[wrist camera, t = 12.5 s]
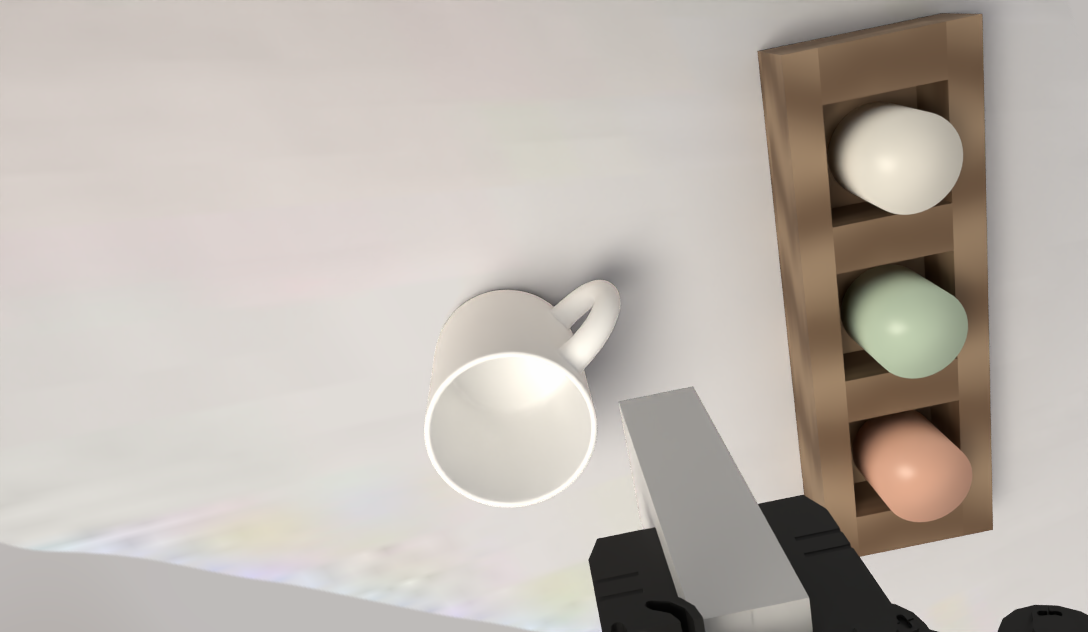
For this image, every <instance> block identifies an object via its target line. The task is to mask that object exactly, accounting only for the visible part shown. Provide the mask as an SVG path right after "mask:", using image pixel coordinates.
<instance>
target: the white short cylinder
mask: <svg viewBox="0 0 1088 632" xmlns="http://www.w3.org/2000/svg"><path fill="white" fill-rule="evenodd" d="M828 162H829V167H830V171H831V173H832V175H833V177H834V179H835V180H836V182H837V183H838V184H839V185H840V186H841V187H842V188H843V189H845V190H846V191H848V192H850V193H852V194H854V195H856V196H858V197H860V198H862V199H864V200H866V201H868V202H869V203H871V204H873V205H875V206H877V207H879V208H881V209H883V210H885V211H888V212H890V213H894V214H900V215H909V214H916V213H919V212H922V211H925V210H927V209H929V208H931V207H933V206H935V205H936V204H937V203H939V202H940V201H941V200H942V199H943V198H945V197H946V195H947V194H948V193H949V192H950V191H951V189H952V188H953V187H954V185H955V183H956V181H957V179H958V177H959V175H960V171H961V168H962V163H963V147H962V143H961V140H960V137H959V135H958V133H957V131H956V129H955V128H954V127H953V126H952V124H951V123H949V122H948V121H947V120H946V119H944V118H943V117H941V116H939V115H937V114H934V113H930V112H926V111H922V110H918V109H914V108H910V107H905V106H901V105H897V104H893V103H888V102H873V103H869V104H865V105H863V106H860V107H858V108H856V109H855V110H853V111H852V112H850V113H849V114H848V115H847V116H846V117H845V118H843V120H842V121H841V122H840V123H839V125H838V126H837V127H836V129H835V131H834V133H833V135H832V137H831V140H830V144H829V149H828Z"/></svg>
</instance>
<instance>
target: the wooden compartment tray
mask: <svg viewBox="0 0 1088 632" xmlns="http://www.w3.org/2000/svg"><path fill="white" fill-rule="evenodd" d="M758 60H759V70H760V79H761V89H762V98H763V108H764V117H765V127H766V136H767V146H768V155H769V165H770V174H771V184H772V193H773V203H774V212H775V222H776V231H777V241H778V250H779V260H780V269H781V279H782V288H783V298H784V307H785V317H786V326H787V336H788V345H789V355H790V364H791V374H792V383H793V393H794V402H795V412H796V421H797V431H798V440H799V450H800V459H801V469H802V478H803V488H804V495H805V496H806V497H808V498H809V499H811V500H813V501H814V502H816V503H818V504H819V505H821V506H823V507H824V508H826V509H827V510H828V511H829V513H830V514H831V516H832V517H833V519H834V520H835V522H836V523H837V525H838V526H839V528H840V531H841V532H843V533H844V535H845V536H846V538H847V539H848V541H849V542H850V544H851V547H852V548H854V550H855V551H856V552H857V554H858V555H859V557H861V556H865V555H870V554H875V553H880V552H885V551H890V550H895V549H900V548H905V547H910V546H915V545H920V544H925V543H929V542H934V541H939V540H944V539H949V538H954V537H959V536H964V535H969V534H974V533H979V532H984V531H989V530H993V512H992V463H991V414H990V365H989V315H988V266H987V217H986V168H985V119H984V70H983V21H982V14H950V13H942V14H937V15H932V16H927V17H922V18H917V19H912V20H908V21H903V22H898V23H893V24H888V25H883V26H878V27H874V28H869V29H864V30H859V31H854V32H849V33H844V34H840V35H835V36H830V37H825V38H820V39H815V40H810V41H805V42H801V43H796V44H791V45H786V46H781V47H776V48H771V49H767V50H762V51H758ZM873 102H888V103H893V104H897V105H901V106H905V107H910V108H914V109H918V110H922V111H926V112H930V113H934V114H937V115H939V116H941V117H943V118H944V119H946V120H947V121H948V122H949V123H951V124H952V126H953V127H954V128H955V129H956V131H957V133H958V135H959V137H960V140H961V143H962V147H963V163H962V168H961V171H960V175H959V177H958V179H957V181H956V183H955V185H954V187H953V188H952V189H951V191H950V192H949V193H948V194H947V195H946V197H945V198H943V199H942V200H941V201H940V202H939V203H937V204H936V205H935V206H933V207H931V208H929V209H927V210H925V211H922V212H919V213H916V214H909V215H900V214H894V213H890V212H888V211H885V210H883V209H881V208H879V207H877V206H875V205H873V204H871V203H869V202H868V201H866V200H864V199H862V198H860V197H858V196H856V195H854V194H852V193H850V192H848V191H846V190H845V189H843V188H842V187H841V186H840V185H839V184H838V183H837V182H836V180H835V179H834V177H833V175H832V173H831V171H830V167H829V162H828V149H829V144H830V140H831V137H832V135H833V133H834V131H835V129H836V127H837V126H838V125H839V123H840V122H841V121H842V120H843V118H845V117H846V116H847V115H848V114H849V113H850V112H852V111H853V110H855V109H856V108H858V107H860V106H863V105H865V104H869V103H873ZM887 264H894V265H900V266H904V267H907V268H909V269H911V270H912V271H914V272H915V273H917V274H919V275H920V276H922V277H924V278H925V279H927V280H928V281H930V282H932V283H933V284H935V285H937V286H938V287H940V288H941V289H943V290H945V291H946V292H948V293H950V294H951V295H953V296H954V297H955V298H956V299H958V301H959V302H960V303H961V304H962V306H963V308H964V310H965V312H966V315H967V319H968V332H967V337H966V340H965V343H964V345H963V348H962V349H961V351H960V353H959V354H958V355H957V357H956V358H955V359H954V360H953V361H952V362H951V363H950V364H949V365H948V366H947V367H945V368H944V369H942V370H941V371H939V372H937V373H935V374H933V375H930V376H927V377H923V378H913V379H910V378H903V377H899V376H897V375H894V374H892V373H890V372H889V371H888V370H886V369H885V368H884V367H883V366H882V365H881V364H880V363H878V362H877V361H876V360H875V359H874V358H873V357H872V356H871V355H870V354H868V353H867V352H866V351H865V350H864V349H863V348H862V347H861V346H860V345H858V344H857V343H856V342H855V341H854V340H853V339H852V338H851V337H850V336H849V335H848V334H847V332H846V331H845V329H844V326H843V323H842V320H841V305H842V301H843V298H844V296H845V293H846V291H847V290H848V288H849V287H850V285H851V284H852V283H853V282H854V281H855V279H857V278H858V277H859V276H860V275H861V274H863V273H864V272H866V271H868V270H870V269H872V268H874V267H877V266H881V265H887ZM908 410H914V411H917V412H919V413H920V414H922V415H923V416H924V417H925V418H926V419H928V420H929V421H930V422H931V423H932V424H933V425H934V426H935V427H936V428H937V429H938V430H939V431H940V432H941V433H943V434H944V435H945V436H946V437H947V438H948V439H949V440H950V441H951V442H952V443H953V444H954V445H955V446H957V447H958V448H959V449H960V450H961V451H962V452H963V453H964V454H965V455H966V457H967V458H968V460H969V462H970V464H971V467H972V483H971V487H970V490H969V492H968V494H967V496H966V497H965V499H964V500H963V501H962V503H961V504H960V505H959V506H958V507H957V508H956V509H954V510H953V511H952V512H950V513H949V514H947V515H946V516H944V517H942V518H939V519H936V520H933V521H928V522H912V521H907V520H905V519H902V518H900V517H898V516H897V515H896V514H894V513H893V512H892V511H891V510H890V508H889V507H888V506H887V505H886V503H885V502H884V501H883V500H882V498H881V497H880V496H879V495H878V493H877V492H876V491H875V490H874V489H873V487H872V486H871V485H870V484H869V482H868V481H867V480H866V479H865V477H864V476H863V475H862V474H861V472H860V471H859V470H858V468H857V467H856V465H855V463H854V460H853V455H852V448H853V442H854V439H855V437H856V434H857V433H858V431H859V429H860V428H861V427H862V425H863V424H864V423H865V422H866V421H867V420H869V419H870V418H874V417H879V416H884V415H888V414H893V413H898V412H903V411H908Z"/></svg>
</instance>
